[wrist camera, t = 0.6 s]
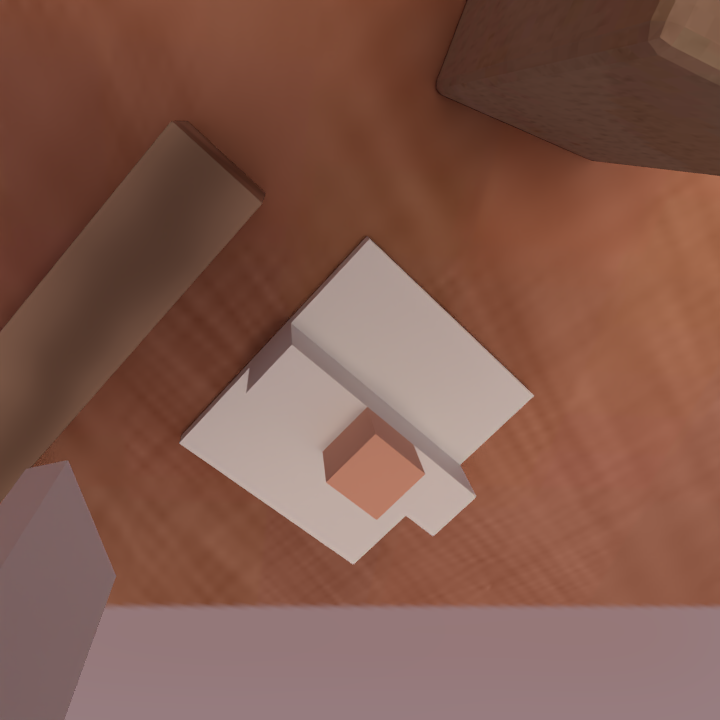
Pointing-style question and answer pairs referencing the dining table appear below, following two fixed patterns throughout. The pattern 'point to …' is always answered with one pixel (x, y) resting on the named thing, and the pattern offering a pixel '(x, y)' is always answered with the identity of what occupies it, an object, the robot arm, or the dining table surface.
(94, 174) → the dining table surface
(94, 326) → the beam
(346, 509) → the stand
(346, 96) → the dining table surface
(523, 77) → the wooden block
